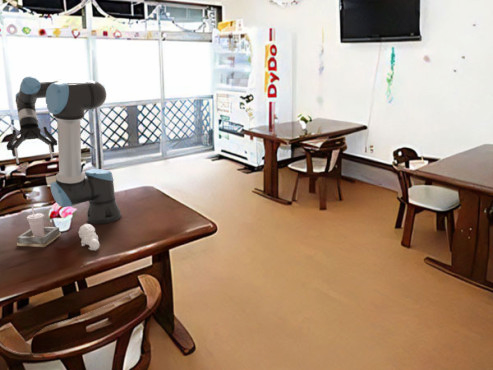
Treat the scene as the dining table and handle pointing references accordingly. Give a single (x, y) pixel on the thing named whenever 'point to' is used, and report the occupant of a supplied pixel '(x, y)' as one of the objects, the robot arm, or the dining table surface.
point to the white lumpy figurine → (89, 236)
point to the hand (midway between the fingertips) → (35, 159)
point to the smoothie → (36, 223)
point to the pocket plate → (30, 240)
